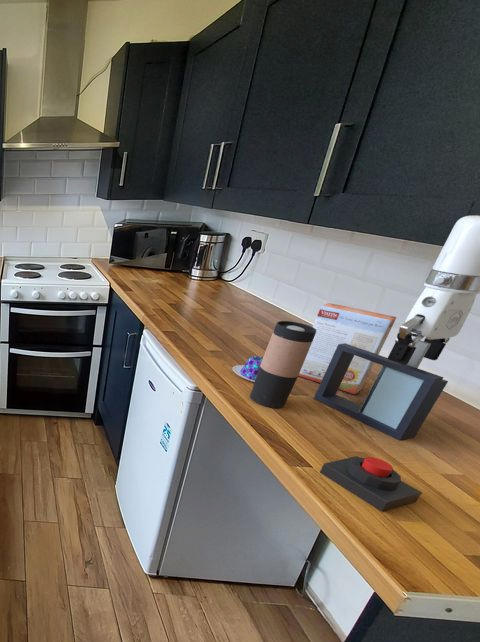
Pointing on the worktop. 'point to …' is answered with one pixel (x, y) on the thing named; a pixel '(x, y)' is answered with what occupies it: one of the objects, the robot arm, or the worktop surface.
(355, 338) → the cracker box
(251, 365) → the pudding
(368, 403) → the window frame
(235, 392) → the worktop surface
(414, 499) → the control block
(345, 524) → the worktop surface
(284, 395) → the travel mug
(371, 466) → the button
